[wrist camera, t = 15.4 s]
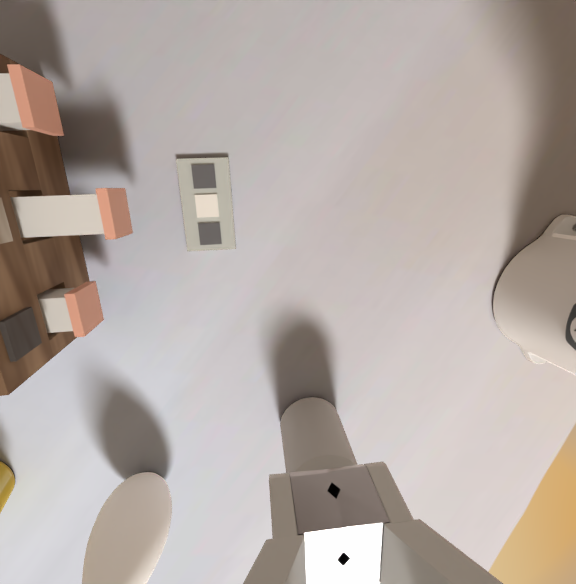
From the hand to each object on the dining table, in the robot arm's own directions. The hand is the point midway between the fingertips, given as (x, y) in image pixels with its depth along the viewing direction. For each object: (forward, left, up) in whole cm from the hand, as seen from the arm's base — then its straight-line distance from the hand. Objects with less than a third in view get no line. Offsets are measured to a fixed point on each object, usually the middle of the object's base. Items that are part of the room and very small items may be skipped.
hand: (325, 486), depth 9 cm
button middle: (+17, -6, -24) cm, 30 cm away
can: (-4, +21, -29) cm, 36 cm away
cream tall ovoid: (+17, +28, -29) cm, 44 cm away
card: (+6, -6, -29) cm, 30 cm away
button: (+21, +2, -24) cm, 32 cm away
